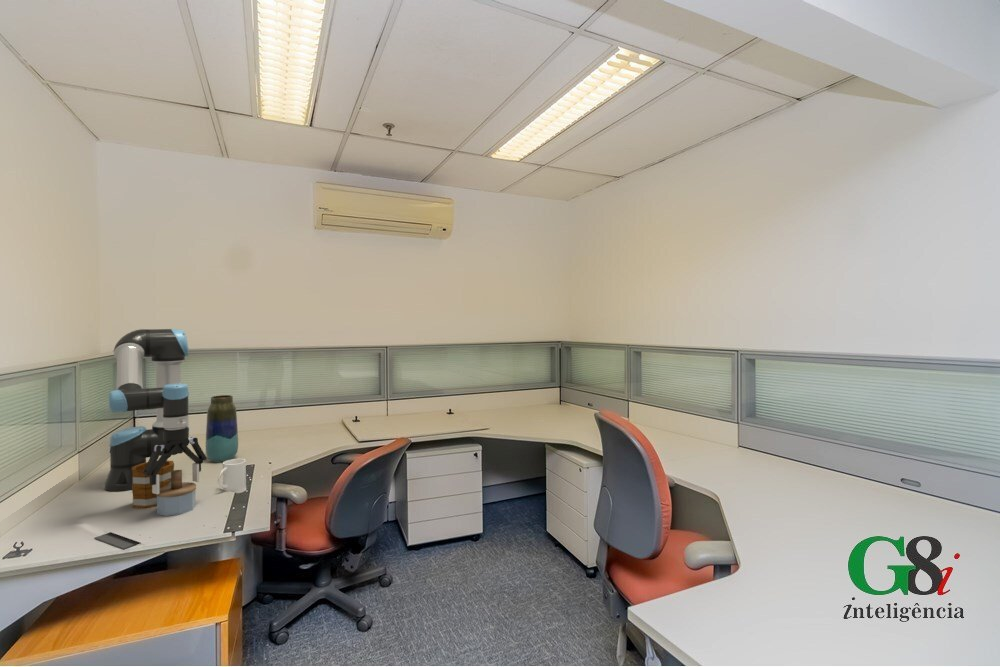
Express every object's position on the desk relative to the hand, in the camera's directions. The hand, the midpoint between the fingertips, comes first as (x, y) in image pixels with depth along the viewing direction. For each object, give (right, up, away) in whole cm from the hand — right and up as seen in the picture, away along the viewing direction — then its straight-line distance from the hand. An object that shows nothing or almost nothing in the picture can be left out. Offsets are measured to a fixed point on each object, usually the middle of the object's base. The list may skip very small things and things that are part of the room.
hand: (176, 487), depth 167 cm
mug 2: (+7, -9, +21) cm, 24 cm away
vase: (-22, -8, +64) cm, 68 cm away
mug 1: (-14, -9, +10) cm, 20 cm away
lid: (0, -2, 0) cm, 2 cm away
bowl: (0, -10, 0) cm, 10 cm away
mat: (-2, -10, -16) cm, 19 cm away
